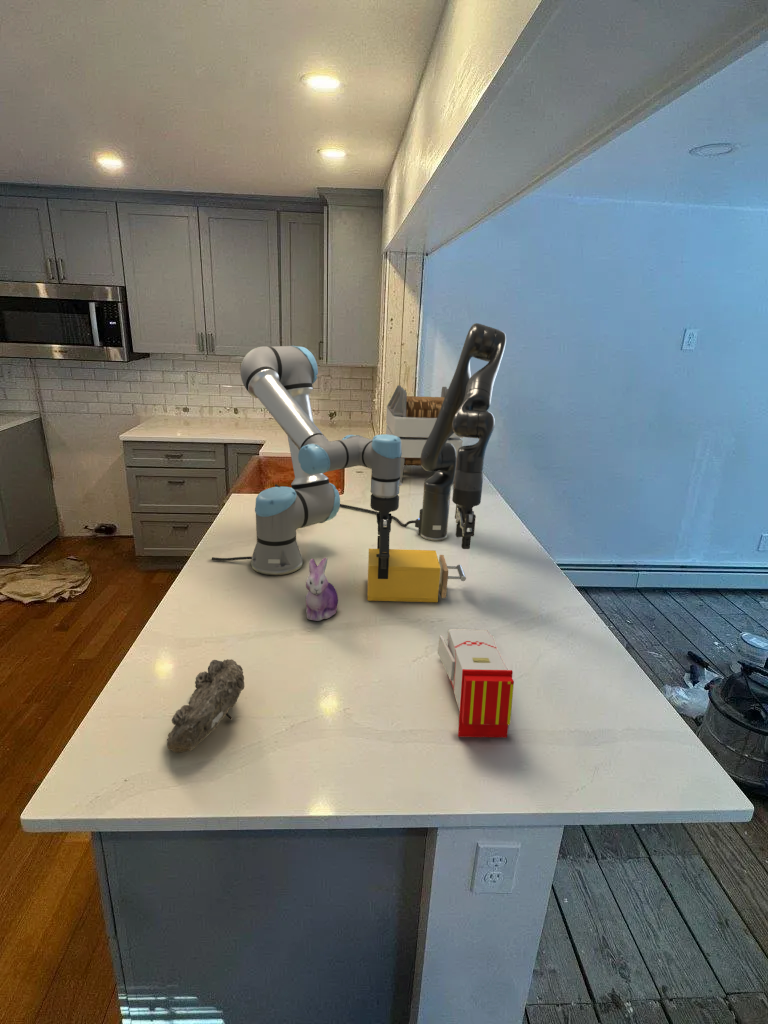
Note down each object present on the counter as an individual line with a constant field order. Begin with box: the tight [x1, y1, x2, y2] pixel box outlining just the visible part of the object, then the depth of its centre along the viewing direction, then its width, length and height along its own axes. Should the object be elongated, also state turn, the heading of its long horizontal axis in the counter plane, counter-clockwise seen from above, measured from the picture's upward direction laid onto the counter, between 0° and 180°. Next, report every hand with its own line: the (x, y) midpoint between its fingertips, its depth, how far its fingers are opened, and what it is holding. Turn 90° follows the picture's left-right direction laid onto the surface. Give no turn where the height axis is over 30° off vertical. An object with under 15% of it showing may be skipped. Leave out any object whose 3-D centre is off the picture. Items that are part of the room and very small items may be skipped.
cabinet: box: [367, 548, 440, 603], centre depth 158 cm, size 19×12×10 cm, turn 92°
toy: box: [437, 628, 515, 738], centre depth 117 cm, size 12×13×30 cm
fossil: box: [166, 658, 245, 754], centre depth 106 cm, size 22×10×15 cm
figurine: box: [305, 557, 339, 622], centre depth 144 cm, size 9×10×15 cm
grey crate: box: [385, 384, 464, 484], centre depth 268 cm, size 34×33×41 cm
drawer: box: [438, 554, 467, 599], centre depth 158 cm, size 23×10×8 cm, turn 92°
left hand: (382, 567), depth 156 cm, fingers open, 13 cm apart
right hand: (462, 542), depth 155 cm, fingers open, 8 cm apart
